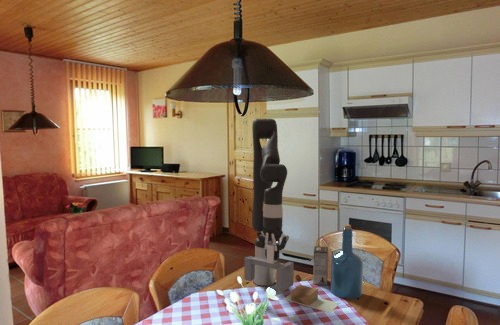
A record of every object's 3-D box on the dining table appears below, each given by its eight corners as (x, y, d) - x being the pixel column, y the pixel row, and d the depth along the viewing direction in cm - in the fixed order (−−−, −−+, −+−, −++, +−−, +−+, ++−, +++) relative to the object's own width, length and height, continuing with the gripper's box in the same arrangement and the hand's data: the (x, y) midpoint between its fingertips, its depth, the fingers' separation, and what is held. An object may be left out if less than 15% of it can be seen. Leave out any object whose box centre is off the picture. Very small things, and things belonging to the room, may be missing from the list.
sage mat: (283, 301, 144) (283, 299, 144) (294, 293, 152) (294, 291, 152) (330, 315, 133) (330, 312, 133) (339, 305, 141) (339, 303, 141)
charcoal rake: (239, 282, 143) (239, 242, 142) (253, 275, 151) (253, 237, 150) (280, 293, 132) (281, 250, 131) (293, 285, 140) (294, 244, 140)
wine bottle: (344, 286, 161) (346, 220, 160) (368, 297, 150) (370, 226, 149) (322, 292, 154) (324, 223, 153) (346, 304, 143) (348, 229, 142)
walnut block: (291, 300, 143) (291, 290, 143) (300, 294, 150) (300, 284, 150) (309, 305, 139) (309, 295, 138) (317, 298, 145) (318, 289, 145)
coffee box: (313, 279, 170) (314, 245, 170) (327, 280, 169) (328, 246, 168) (312, 286, 161) (313, 251, 161) (327, 287, 160) (328, 252, 159)
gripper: (252, 214, 140) (251, 258, 141) (284, 218, 132) (283, 265, 133) (262, 212, 146) (262, 253, 147) (293, 215, 138) (292, 260, 139)
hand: (272, 258), depth 140 cm, fingers closed on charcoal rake, 3 cm apart
